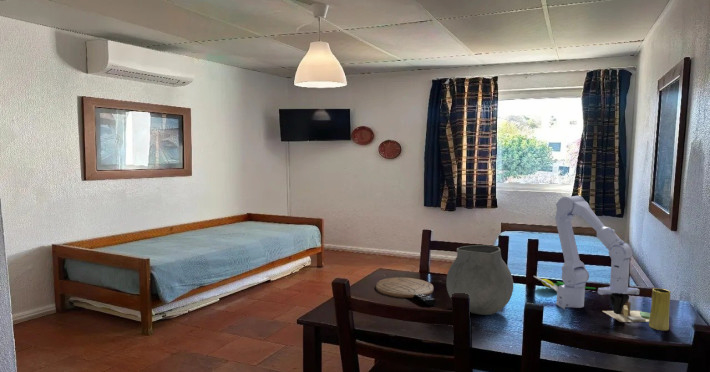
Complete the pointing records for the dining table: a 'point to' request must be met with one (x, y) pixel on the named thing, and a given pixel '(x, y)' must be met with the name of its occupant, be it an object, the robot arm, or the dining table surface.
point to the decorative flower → (554, 284)
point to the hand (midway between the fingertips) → (617, 313)
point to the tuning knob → (626, 308)
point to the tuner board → (630, 316)
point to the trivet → (404, 287)
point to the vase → (660, 309)
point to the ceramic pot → (481, 278)
